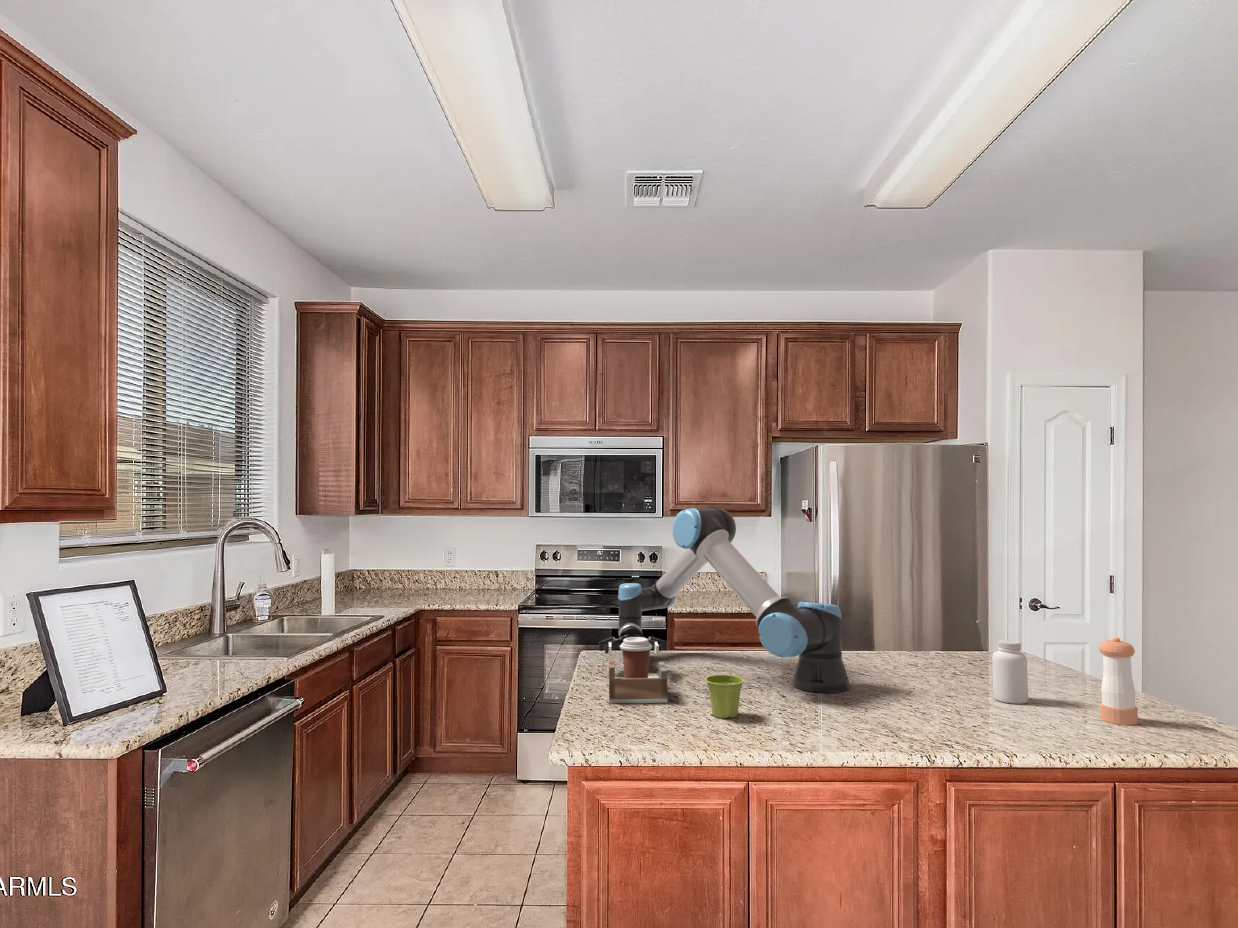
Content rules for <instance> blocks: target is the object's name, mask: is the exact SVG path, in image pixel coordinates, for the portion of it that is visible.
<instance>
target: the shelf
mask: <svg viewBox="0 0 1238 928" xmlns="http://www.w3.org/2000/svg"><path fill="white" fill-rule="evenodd" d="M615 660H616V659H615V657H614V658H608V690H609V691H608V692H609V693H608V702H609V704H648V703H649V704H651V703H652V704H657V703H659V704H660V703H665V704H667V703H668V669H667V666H666V664H665V661H658V675H655V676H650V675H648V678H625V676H616V666H615V665H616V661H615Z"/></svg>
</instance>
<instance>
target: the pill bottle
mask: <svg viewBox="0 0 1238 928" xmlns="http://www.w3.org/2000/svg"><path fill="white" fill-rule="evenodd" d="M1021 643H1022V642H1020V641H1017V640H1009V639H999V640H998V641H997V649H998V650H996V651H994V652H993V654H992V656H991V658H992V683H993V684H992V687H993V688H992V689H993V699H994V700H996V701H998V702H1001V703H1006V704H1013V705H1017V704H1018V705H1020V704H1021V705H1022V704H1026V703H1027V704H1028V703H1029V681H1028V678H1029V677H1028V659H1027V656H1026V655H1025V654H1024V652H1023V653H1022V652H1021V651H1022V644H1021Z"/></svg>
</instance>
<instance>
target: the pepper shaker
mask: <svg viewBox="0 0 1238 928" xmlns="http://www.w3.org/2000/svg"><path fill="white" fill-rule="evenodd" d="M1098 650H1099V652H1100V653H1101V654H1102V662H1103V663H1102V664H1103V667H1102V668H1103V674H1102V680H1101V687H1100V690H1101V702H1100V703H1099V709H1100V712H1099V713H1100V719H1101V720H1103V721H1104V722H1107V723H1111V724H1116V725H1121V726H1122V725H1123V726H1135V725H1138V724H1139V712H1138V711H1139V710H1138V707H1137V706H1136V690H1135V685H1134V681H1133V675H1132V674H1133V673H1132V657H1133V656H1134V655H1135V652H1136V651H1135V649H1134V646H1133V645H1132V644H1130V643H1129V642H1127V641H1122V640H1121V639H1120V638H1119V637H1112V639H1109V640H1104V641H1102V642H1101V643H1100V644H1099V646H1098Z"/></svg>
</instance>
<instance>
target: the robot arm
mask: <svg viewBox="0 0 1238 928" xmlns="http://www.w3.org/2000/svg"><path fill="white" fill-rule="evenodd" d="M736 532H737V524H736V521H735V519H734V516H733V515H731V514H730V513H729V512H728V511H727V510H725V509H723V508H719V507H718V508H717V507H712V508H711V507H710V508H709V507H708V508H699V507H698V508H697V507H696V508H695V507H691V508H687V509H683V510H681V511H680V512H678V513H677V515H676V516H675V517H674V520H673V523H672V536H673V540H674V542H675V543H676V545H677V546H678V547H680V548H681V549H685V551H684V552H683V553H682V554H681V555H680V556H679V557H678V559H676V561H675V562H674V563H672V565H671V566H670V567H669V568H668V569H667V571H666V572H665V573H664V574H663V575H662V576H661V577H659V579H658V580H657V581H655V583H654V584H653V585H652V586H650V587H649V586H648V587H642V585H641V584H640V583H636V582H635V583H634V582H631V583H630V582H629V583H628V582H627V583H622V584H621V583H620V585H619V587H618V596H617V598H618V628H617V629H618V631H617V632H618V634H617V635H618V636H619V637H618V638H615V637H614V636H613V635H612V636H609V637H608V638H605V639H603V640H600V641H598V651H600V652H601V651H604V654H608V657H612V655H613V654H612V651H613V650H617V649H620V645H621V644H622V643H623V640H624V639H625V638H629V637H643V638H646V636H644V634H643V631H642V629H643V628H642V616H643V615H642V613H643V612H646V611H651V610H658V609H659V610H662V609H666V608H669V607H671V606H672V605H674V603H675V600H676V596H677V594H678V593H679V591H681V590H682V589H683V588H684V587H685V585H687V583H689V582H690V581H691V579H693V578H694V576H695V575H697V574H698V572H699V571H701V569H702V568H704V567H705V565H706V564H707V563H709V564H710V566H711V567H712V568H713V569H714V570H715V572H717V574H718V575H719V576H720V577H721V578H722V579H723V581H724V582H725V583H726V584H727V586H729V588H730V589H732V591H733V592H734V593H735V595H736V596H737V597H738V598H739V599H740V600H741V602H743V604H744V605H745V606H746V607H747V609H748V610H750V612H751V613H752V615H754V616H755V618H756V620H755V625H756V627H757V629H758V634H759V641H760V643H761V646H763V647H764V649H765V650H766V651H767V652H768V653H770V654H771V655H772V656H775V657H778V658H794V657H798V660H797V663H796V665H795V666H796V667H795V670H794V674H793V676H792V686H793V687H794V688H797V689H798V690H802V691H806V692H813V693H828V694H829V693H840V692H841V693H842V692H844V691H845V692H846V691H847V690H849V689H850V678H849V677H848V674H847V673H848V672H847V671H846V668H845V664H844V661H843V652H842V651H843V647H842V645H843V644H842V639H843V638H842V637H843V636H842V632H843V631H842V613H841V612H842V611H841V608H840V607H839V606H838V605H836V604H831V603H830V604H829V603H823V602H822V603H820V602H811V601H799V602H798V603H797V606H796V604H795V603H794V602H792V600H791V599H790V598H789V597H787V596H780V595H779V594H778V593H777V592H776V591H775V590H774V588H772V587H771V585H770V584H769V583H768V582H767V581H766V580H765V579H764V578H763V577H762V576H761V575H760V573H759V572H758V571H757V570H756V569H755V568H754V566H752V564H751V563H750V562H748V560H747V559H746V558H745V557H744V556H743V555H742V554H741V553H740V552H739V550H738V549H737V548H736V547H735V546H734V545H733V544H732V542H733V540H734V538H735V536H736ZM647 639H648V642H649V643H650V644H651V645H652V649H651V650H654V653H655V656H657V657H659V656H660V652H662V651H667V650H668V641H667V640H663V639H661V638H657V637H655V636H653V635H651V636H648V638H647Z"/></svg>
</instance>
